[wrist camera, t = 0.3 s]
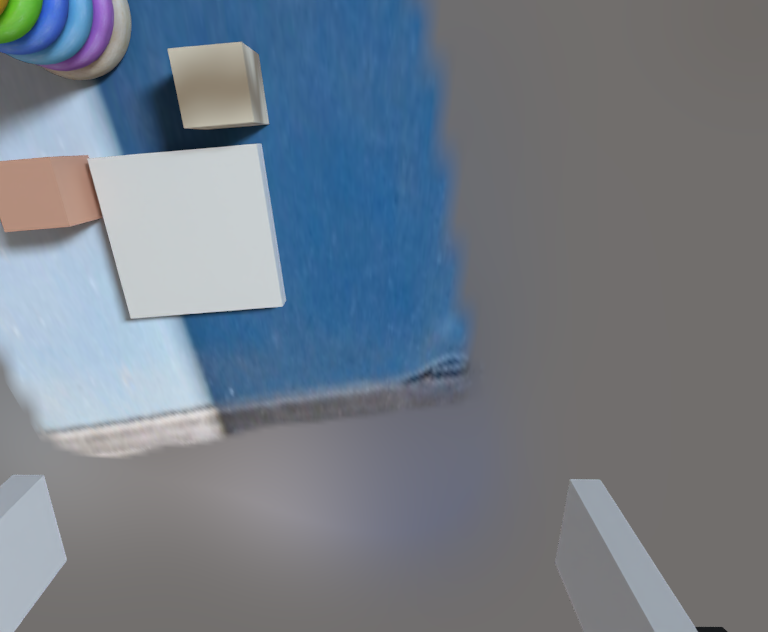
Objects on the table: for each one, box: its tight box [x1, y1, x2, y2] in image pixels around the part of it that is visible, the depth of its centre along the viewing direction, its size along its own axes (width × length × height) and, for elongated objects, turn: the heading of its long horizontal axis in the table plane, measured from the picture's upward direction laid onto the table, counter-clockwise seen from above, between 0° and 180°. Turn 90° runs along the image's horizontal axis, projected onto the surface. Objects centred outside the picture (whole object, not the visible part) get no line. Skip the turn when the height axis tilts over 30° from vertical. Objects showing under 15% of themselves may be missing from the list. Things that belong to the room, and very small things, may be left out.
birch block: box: [168, 42, 269, 130], centre depth 32 cm, size 4×4×4 cm
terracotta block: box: [0, 155, 103, 232], centre depth 34 cm, size 4×4×4 cm
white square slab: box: [87, 144, 286, 319], centre depth 37 cm, size 12×12×2 cm
